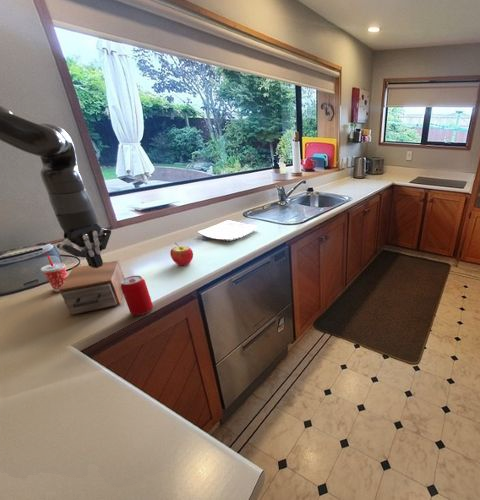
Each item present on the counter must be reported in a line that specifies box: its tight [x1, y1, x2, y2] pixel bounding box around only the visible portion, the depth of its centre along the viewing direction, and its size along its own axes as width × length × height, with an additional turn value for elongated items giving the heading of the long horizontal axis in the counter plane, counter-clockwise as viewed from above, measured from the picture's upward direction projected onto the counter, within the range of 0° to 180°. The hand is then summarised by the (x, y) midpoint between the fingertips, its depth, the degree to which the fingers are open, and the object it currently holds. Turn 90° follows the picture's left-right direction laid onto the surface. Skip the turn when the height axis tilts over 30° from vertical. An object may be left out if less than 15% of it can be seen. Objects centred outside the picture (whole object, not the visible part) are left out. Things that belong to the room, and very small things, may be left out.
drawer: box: [61, 283, 118, 315], centre depth 93 cm, size 19×11×8 cm, turn 30°
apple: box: [169, 242, 194, 266], centre depth 121 cm, size 8×8×10 cm
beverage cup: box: [40, 253, 69, 293], centre depth 99 cm, size 6×6×14 cm
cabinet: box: [59, 260, 126, 316], centre depth 96 cm, size 16×13×10 cm
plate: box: [197, 219, 259, 242], centre depth 155 cm, size 24×24×3 cm
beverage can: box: [121, 275, 154, 316], centre depth 90 cm, size 6×6×12 cm
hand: (97, 266), depth 80 cm, fingers closed
